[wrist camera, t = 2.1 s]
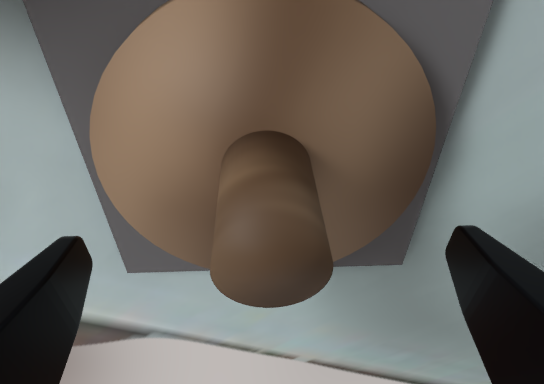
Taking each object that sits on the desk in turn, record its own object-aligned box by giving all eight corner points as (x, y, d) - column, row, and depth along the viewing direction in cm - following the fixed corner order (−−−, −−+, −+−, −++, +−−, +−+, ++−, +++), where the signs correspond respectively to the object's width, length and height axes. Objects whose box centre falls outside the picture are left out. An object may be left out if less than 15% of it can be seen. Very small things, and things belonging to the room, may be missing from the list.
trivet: (503, -69, 9) (516, -68, 9) (398, 254, 17) (401, 264, 16) (10, -69, 9) (-4, -67, 8) (131, 261, 16) (127, 272, 16)
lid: (470, -30, 9) (633, 25, 5) (388, 251, 16) (434, 368, 12) (45, -25, 9) (-118, 38, 5) (143, 261, 15) (106, 385, 11)
